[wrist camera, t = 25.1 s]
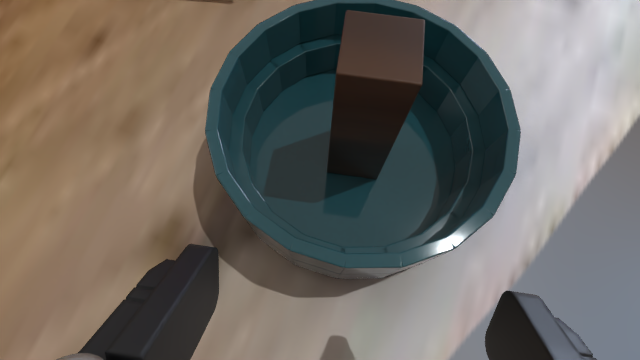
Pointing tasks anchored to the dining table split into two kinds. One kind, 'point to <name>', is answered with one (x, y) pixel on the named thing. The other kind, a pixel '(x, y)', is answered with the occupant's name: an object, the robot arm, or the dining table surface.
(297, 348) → the dining table surface
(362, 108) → the brown rectangular block
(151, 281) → the robot arm
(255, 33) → the bowl
